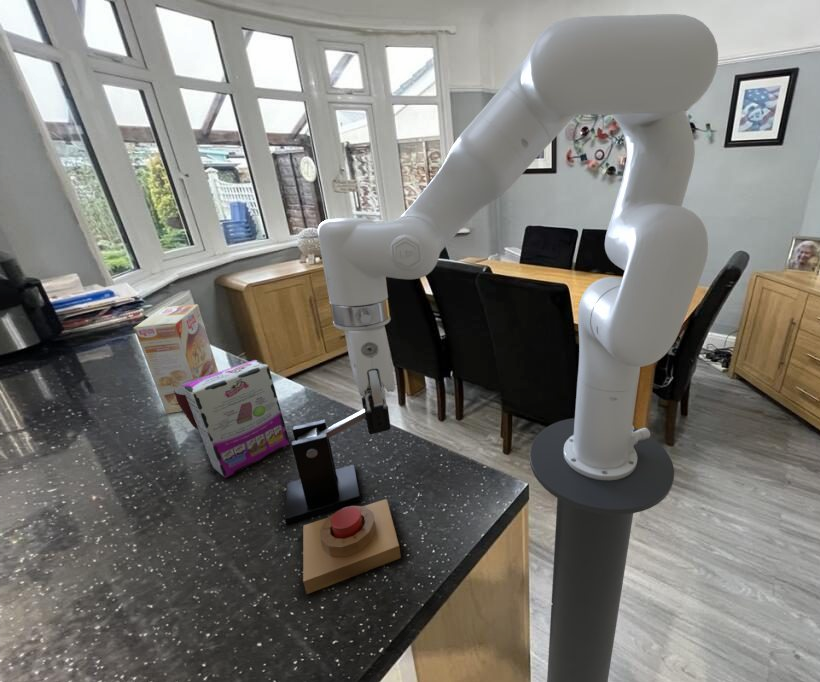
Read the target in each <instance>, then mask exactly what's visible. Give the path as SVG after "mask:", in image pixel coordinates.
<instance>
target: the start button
mask: <svg viewBox="0 0 820 682" xmlns="http://www.w3.org/2000/svg"><path fill="white" fill-rule="evenodd" d="M338 510H339V511H338ZM338 510H336V511H335V512H336V513H335V512H334V513H335V514H334V513H333V514H334V515H333V514H332V515H333V517H332V519H331V526H332V530H333V534H334V535H335V536H336V537H337V538H341V539H344V538H348V537H351V536H354V535H355V534H356V533H358V532H359V531H360V529H361V528H362V525H363V521H362V516H361V512H360V510H359V509H358V508H356V507H350V506H346V507H343V508H340V509H338Z"/></svg>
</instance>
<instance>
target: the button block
mask: <svg viewBox="0 0 820 682" xmlns="http://www.w3.org/2000/svg"><path fill="white" fill-rule="evenodd" d="M349 507H356V508H358V509H359V510H360V512H361V516H362V521H363V525H362V528H361V529H360V531H359V532H358V533H356V534H355V535H354V536H351V537H348V538H344V539H341V538H337V537H336V536H335V535H334V534H333V530H332V526H331V519H332V517H333V515H334V514H335V513H336V512H337V511H339V510H340V509H337V511H335V512H334V513H332V514H331V515H330V516H328V517H324V518H322V519H319V520H316V521H313V522H310V523H307V524H304V525H303V526H302V535H303V536H302V582H303V586H304V590H305V593H306V595H309V594H311V593H314V592H316V591H319V590H321V589H324V588H327V587H330V586H332V585H334V584H335V585H336V584H337V583H340V582H343V581H345V580H348V579H350V578H353V577H355V576H358V575H360V574H363V573H366V572H369V571H371V570H374V569H376V568H379V567H381V566H384V565H386V564H389V563H391V562H394V561H397V560H399V559H401V558H402V556H401V555H402V554H401V550H400V543H399V540H398V537H397V532H396V528H395V525H394V521H393V517H392V513H391V510H390V506H389V502H388V499H387V498H384V499H382V500H378V501H375V502H372V503H369V504H366V505H349Z"/></svg>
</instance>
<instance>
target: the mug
mask: <svg viewBox="0 0 820 682" xmlns="http://www.w3.org/2000/svg"><path fill="white" fill-rule="evenodd" d="M208 376H209V375H208ZM203 377H206V376H202V377H198V378H194V379H191V380H188V381H186V382H184V383H182V384H180V385H179V386H177V387H176V388H175V390H174V393H175V396H176V399H177V402H178V404H179V406H180V407H181V409H182V411H181V412H183V414H184V416H185V417H186V418H187V420H188V421H189V422H190V424H191V425H192V427H194V428H195V429H196V430H198V431H199V429H198V427H197V424H196V421H195V419H194V416H193V413H192V411H191V408H190V405H189V403H188V400H187V398H186V395H185V393H184V390H183V387H182V385H183V384H186V383H189V382H192V381H195V380H197V379H200V378H203Z"/></svg>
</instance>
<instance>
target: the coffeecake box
mask: <svg viewBox="0 0 820 682" xmlns="http://www.w3.org/2000/svg"><path fill="white" fill-rule="evenodd" d="M133 330H134V332H135V334H136V338H137V340H138V342H139V346H140V349H141V351H142V353H143V356H144V359H145V361H146V364H147V366H148V369H149V372H150V374H151V377H152V380H153V382H154V385H155V389H156V392H157V393H158V395H159V399H160V401H161V404H162V406H163V409H164V413H165V414H166V415H168V414H173V413H179V412H183V411H182V409H181V407H180V406H179V404H178V402H177V399H176V396H175V393H174V390H175V388H176V387H177V386H179V385H180V384H182V383H184V382H186V381H188V380H191V379H194V378H198V377H202V376H208V375H212V374H215V373H218V372H219V369H218V366H217V363H216V360H215V356H214V353H213V350H212V347H211V343H210V340H209V336H208V334H207V330H206V326H205V322H204V320H203V317H202V314H201V310H200V306H199V304H197V303H196V304H184V305H182V304H181V305H175V306H174V305H173V306H162V307H161V308H160V309H158V310H157V311H155V312H154V313H153V314H151V315H150V316H148V317H147V318H145V319H144V320H142V321H141V322H140V323H138V324H137V325H135V326H134V327H133Z"/></svg>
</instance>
